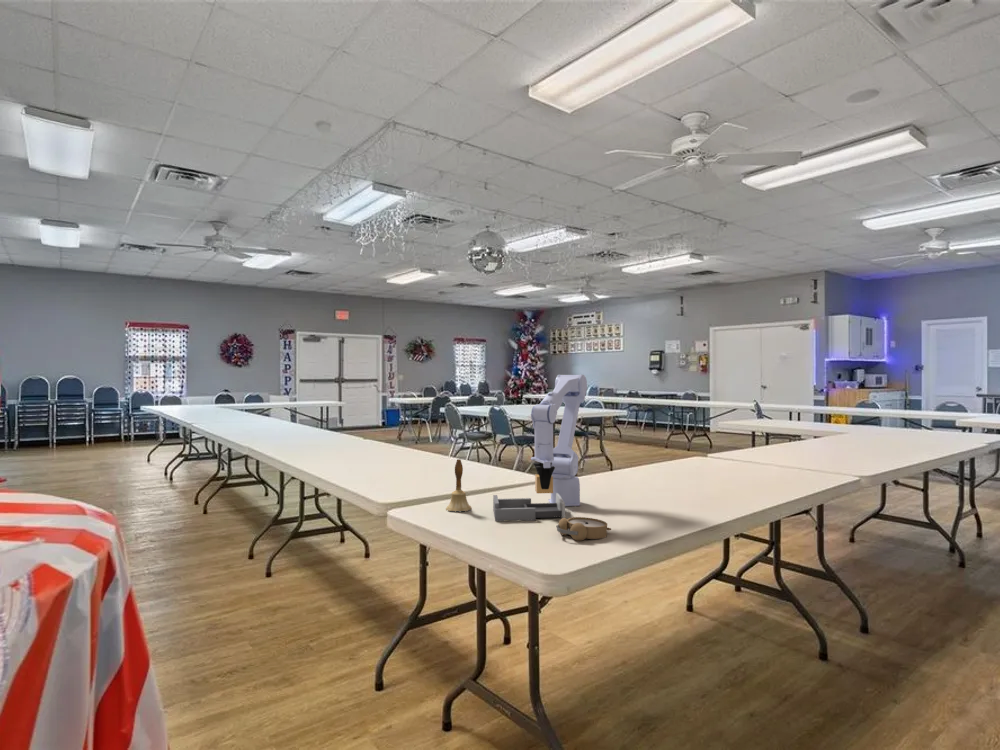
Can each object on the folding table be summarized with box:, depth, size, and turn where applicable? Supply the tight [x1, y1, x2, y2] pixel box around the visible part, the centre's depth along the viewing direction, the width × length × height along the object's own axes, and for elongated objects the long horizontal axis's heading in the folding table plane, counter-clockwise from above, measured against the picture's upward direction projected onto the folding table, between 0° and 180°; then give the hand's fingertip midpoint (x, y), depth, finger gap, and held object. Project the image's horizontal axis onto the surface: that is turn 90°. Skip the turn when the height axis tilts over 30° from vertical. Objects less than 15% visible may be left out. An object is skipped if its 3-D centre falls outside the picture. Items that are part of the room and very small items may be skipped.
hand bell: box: [445, 458, 473, 513], centre depth 182 cm, size 8×8×16 cm
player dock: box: [492, 494, 536, 522], centre depth 174 cm, size 12×13×5 cm
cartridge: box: [534, 474, 553, 494], centre depth 175 cm, size 5×4×5 cm
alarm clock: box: [556, 516, 612, 542], centre depth 153 cm, size 11×5×15 cm
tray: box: [523, 493, 566, 519], centre depth 175 cm, size 11×13×5 cm
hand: (544, 487), depth 175 cm, fingers closed on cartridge, 4 cm apart
